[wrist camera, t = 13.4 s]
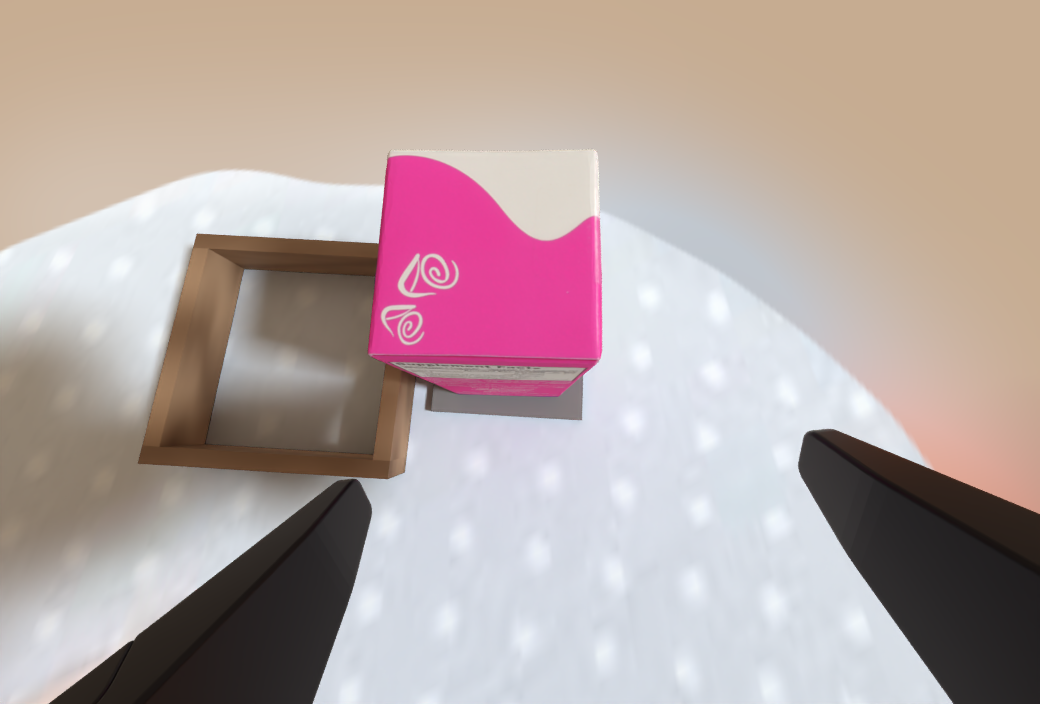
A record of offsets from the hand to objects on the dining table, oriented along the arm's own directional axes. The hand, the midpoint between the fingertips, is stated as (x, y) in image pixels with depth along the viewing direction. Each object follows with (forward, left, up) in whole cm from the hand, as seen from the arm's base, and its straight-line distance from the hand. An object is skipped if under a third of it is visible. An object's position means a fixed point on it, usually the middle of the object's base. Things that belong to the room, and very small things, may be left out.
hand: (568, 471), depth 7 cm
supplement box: (+3, +5, -12) cm, 13 cm away
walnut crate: (-5, +12, -12) cm, 18 cm away
